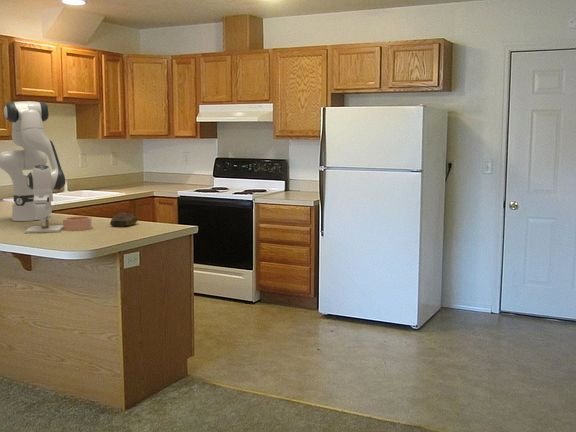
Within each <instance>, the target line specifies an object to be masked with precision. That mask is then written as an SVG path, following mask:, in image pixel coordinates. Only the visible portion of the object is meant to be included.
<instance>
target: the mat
mask: <svg viewBox="0 0 576 432" xmlns="http://www.w3.org/2000/svg"><path fill="white" fill-rule="evenodd" d="M63 231H64V228H63V229H62V230H61V231H60V232H41V233H40V234H47V233H49V234H51V233H61V232H63ZM22 234H23V235H24V234H26V235H27V234H30V233H25V232H24V233H22Z"/></svg>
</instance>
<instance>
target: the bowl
mask: <svg viewBox="0 0 576 432" xmlns="http://www.w3.org/2000/svg"><path fill="white" fill-rule="evenodd" d="M92 221H93V220H92V217H91V216H86V215H85V216H83V215H82V216H78V215H77V216H68V217H64V218H62V222H63V223H62V225H63V228H64V229H63V231H66V232H67V231H68V232H81V231H82V232H83V231H90V230H91V229H93V224H92Z"/></svg>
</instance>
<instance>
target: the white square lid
mask: <svg viewBox="0 0 576 432" xmlns="http://www.w3.org/2000/svg"><path fill="white" fill-rule="evenodd" d="M49 220H50V219H48V220H47V219H46V226H42V222H41V221H40V222H41V224H40V225H31V226H30V227H28V228H27V229H26V230H24V233H29V234H42V233H41V232H58V233H61V232H62V231H63V230H64V229H63V224H50V222H49ZM62 229H63V230H62ZM61 230H62V231H61ZM60 231H61V232H60Z"/></svg>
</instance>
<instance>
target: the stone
mask: <svg viewBox="0 0 576 432" xmlns="http://www.w3.org/2000/svg"><path fill="white" fill-rule="evenodd" d="M138 220H139V219H138V217H136V216H135V215H134V214H131V213H126V212H123V211H122V212H120V213H118V214H117V215H114V216H112V218H111V220H110V222H109V225H110V226H111V227H115V228H123V227H127V226H128V227H129V226H131V225H134V224H136V223H137V222H138Z"/></svg>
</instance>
